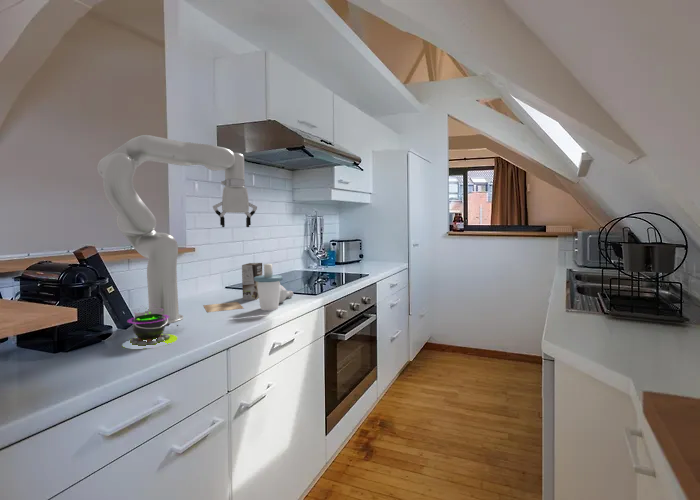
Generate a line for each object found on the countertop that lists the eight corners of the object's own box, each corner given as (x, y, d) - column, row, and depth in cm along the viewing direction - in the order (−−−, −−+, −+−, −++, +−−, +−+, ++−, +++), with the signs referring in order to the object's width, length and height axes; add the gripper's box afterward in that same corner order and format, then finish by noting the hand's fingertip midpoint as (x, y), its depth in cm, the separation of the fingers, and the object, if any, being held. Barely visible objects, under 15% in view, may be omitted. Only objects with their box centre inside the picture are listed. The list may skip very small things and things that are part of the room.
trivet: (207, 313, 155) (207, 312, 155) (203, 306, 167) (203, 305, 167) (244, 309, 161) (244, 308, 161) (237, 303, 174) (237, 301, 173)
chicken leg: (300, 299, 184) (294, 282, 186) (283, 299, 167) (277, 280, 169) (284, 306, 186) (279, 289, 188) (266, 306, 169) (260, 288, 171)
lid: (258, 283, 152) (257, 266, 152) (251, 279, 162) (250, 263, 161) (286, 280, 157) (285, 264, 156) (278, 277, 167) (277, 262, 166)
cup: (276, 312, 155) (275, 282, 154) (254, 312, 157) (253, 281, 156) (284, 307, 164) (283, 278, 163) (263, 307, 166) (262, 278, 165)
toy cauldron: (146, 353, 111) (144, 313, 110) (109, 346, 117) (107, 308, 116) (188, 337, 124) (186, 302, 123) (153, 332, 130) (151, 299, 129)
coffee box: (256, 301, 177) (255, 264, 176) (242, 301, 178) (241, 264, 177) (263, 297, 186) (262, 262, 185) (250, 296, 187) (249, 262, 186)
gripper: (213, 182, 156) (213, 227, 157) (258, 184, 162) (258, 227, 163) (211, 184, 162) (212, 227, 164) (255, 186, 169) (255, 227, 170)
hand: (235, 227), depth 163 cm, fingers open, 9 cm apart
